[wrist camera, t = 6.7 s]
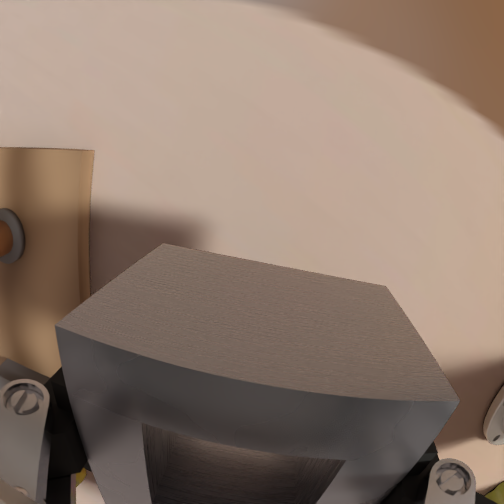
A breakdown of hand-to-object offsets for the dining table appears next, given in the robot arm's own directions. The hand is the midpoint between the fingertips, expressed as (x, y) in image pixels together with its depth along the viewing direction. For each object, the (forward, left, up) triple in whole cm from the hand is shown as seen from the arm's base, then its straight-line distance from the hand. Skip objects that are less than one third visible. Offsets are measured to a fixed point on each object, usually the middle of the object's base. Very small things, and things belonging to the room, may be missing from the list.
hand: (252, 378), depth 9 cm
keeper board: (+15, +5, -7) cm, 17 cm away
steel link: (0, 0, -1) cm, 1 cm away
